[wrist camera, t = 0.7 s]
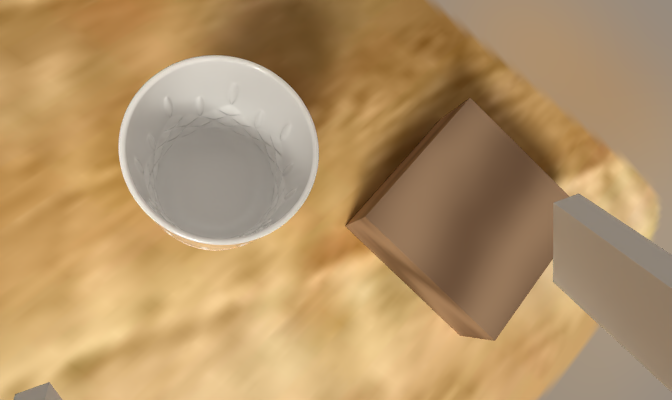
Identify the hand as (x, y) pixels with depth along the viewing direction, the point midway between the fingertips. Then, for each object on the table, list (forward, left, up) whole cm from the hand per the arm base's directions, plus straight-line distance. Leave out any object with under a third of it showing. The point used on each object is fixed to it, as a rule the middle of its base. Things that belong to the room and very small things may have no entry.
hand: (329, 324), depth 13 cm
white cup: (-6, +3, -18) cm, 19 cm away
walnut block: (+6, +12, -17) cm, 22 cm away
